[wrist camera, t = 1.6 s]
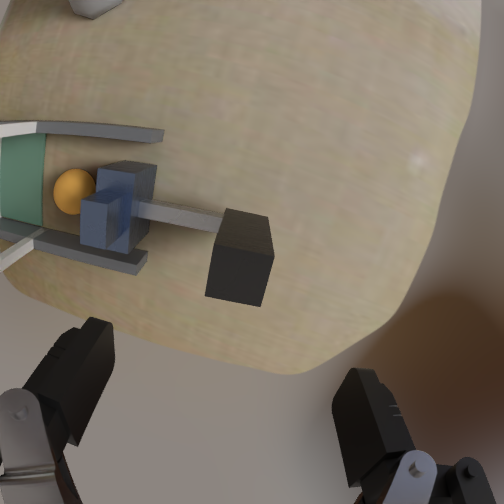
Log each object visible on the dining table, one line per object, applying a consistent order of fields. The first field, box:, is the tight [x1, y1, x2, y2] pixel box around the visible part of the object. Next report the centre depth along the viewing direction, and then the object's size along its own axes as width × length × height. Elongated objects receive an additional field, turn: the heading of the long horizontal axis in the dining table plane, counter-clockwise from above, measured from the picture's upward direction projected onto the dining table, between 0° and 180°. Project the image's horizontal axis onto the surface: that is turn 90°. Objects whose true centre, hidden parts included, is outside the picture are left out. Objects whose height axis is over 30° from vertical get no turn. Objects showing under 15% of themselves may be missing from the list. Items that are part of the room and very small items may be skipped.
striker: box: [80, 160, 275, 307], centre depth 20 cm, size 6×12×11 cm, turn 77°
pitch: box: [0, 120, 164, 276], centre depth 20 cm, size 12×20×9 cm, turn 77°
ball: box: [53, 169, 96, 215], centre depth 22 cm, size 4×4×4 cm
